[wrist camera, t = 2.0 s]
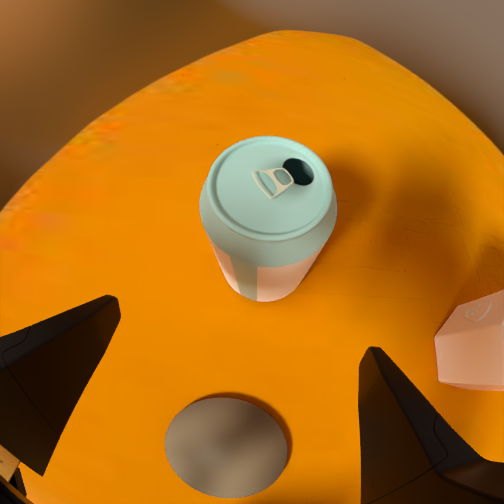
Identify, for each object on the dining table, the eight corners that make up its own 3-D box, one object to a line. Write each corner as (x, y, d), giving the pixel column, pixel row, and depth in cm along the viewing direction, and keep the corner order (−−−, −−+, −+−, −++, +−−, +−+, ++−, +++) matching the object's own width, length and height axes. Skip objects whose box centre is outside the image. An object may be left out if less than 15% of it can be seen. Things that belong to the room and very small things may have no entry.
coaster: (307, 422, 19) (308, 424, 18) (256, 508, 16) (256, 511, 15) (193, 376, 20) (191, 377, 19) (152, 464, 17) (149, 467, 16)
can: (243, 212, 25) (234, 112, 14) (316, 241, 24) (359, 154, 12) (208, 282, 23) (163, 217, 11) (287, 316, 22) (320, 281, 10)
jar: (464, 290, 22) (547, 251, 10) (494, 343, 19) (574, 325, 8) (417, 352, 20) (516, 341, 9) (452, 406, 18) (540, 416, 6)
